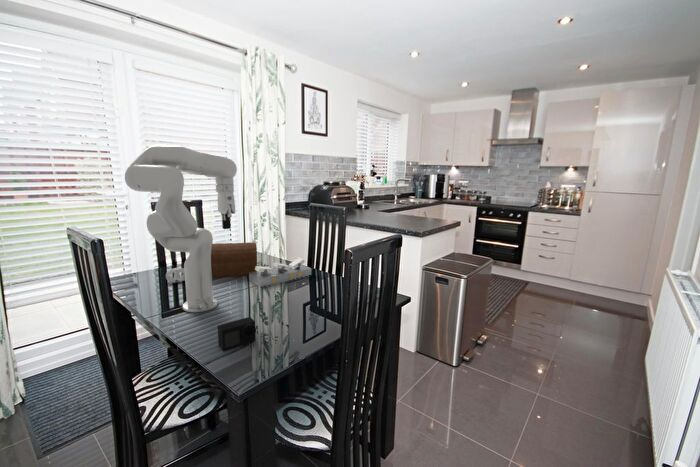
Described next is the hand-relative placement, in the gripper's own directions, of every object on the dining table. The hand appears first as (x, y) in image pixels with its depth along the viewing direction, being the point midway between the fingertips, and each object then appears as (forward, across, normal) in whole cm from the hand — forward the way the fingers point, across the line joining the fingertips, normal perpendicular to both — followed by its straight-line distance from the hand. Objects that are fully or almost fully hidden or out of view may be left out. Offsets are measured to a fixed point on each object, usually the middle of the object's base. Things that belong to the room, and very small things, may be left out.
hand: (226, 228), depth 146 cm
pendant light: (+27, +19, +18) cm, 38 cm away
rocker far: (+21, -6, -34) cm, 40 cm away
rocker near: (+21, -6, -15) cm, 27 cm away
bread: (+28, +18, -6) cm, 34 cm away
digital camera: (+27, -55, +17) cm, 64 cm away
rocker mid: (+21, -6, -24) cm, 33 cm away
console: (+27, -6, -24) cm, 37 cm away
